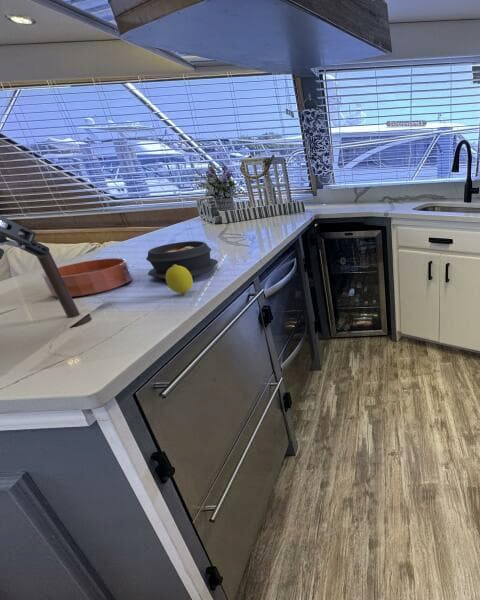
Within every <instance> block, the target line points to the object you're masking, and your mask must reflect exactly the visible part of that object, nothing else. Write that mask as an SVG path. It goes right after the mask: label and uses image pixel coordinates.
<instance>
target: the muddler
mask: <svg viewBox="0 0 480 600" xmlns="http://www.w3.org/2000/svg"><path fill="white" fill-rule="evenodd" d="M36 258H37V259H38V263H39V264H40V266H41V268H42V270H43V273H45V274H46V276H47V278H48V280H49V282H50V284H51V286H52V288H53V290H54V292H55V294H56V296H57V300H58V302H59V304H60V305H61V308H62V310H63V311H64V313H65V316H66V317H67V318H68V319H69V318H76V317H78V316H80V315H81V312H80V311H79V309H78V307H77V305H76V303H75V301H74V299H73V297H71V294H70V292H69V290H68V288H67V286H66V284H65V282H64V280H63V278H62V276H61V274H60V272H59V270H58V266H57V263H56V262H55V260H54V257H53V256H52V253H51V251H50V250H49V252H48V255H47V257H46V258H39V257H37V256H36ZM56 296H55V297H56ZM92 319H93V317H92V316H91V314H90V313H88V314H86V315H85V316H83V317H82V318H81V319H79V320H78V321H76V322H75V323H73V324H71V326H70V327H69V329H70V328H75V327H79V326H83V325H85V324H88V323H89V322H91V321H92Z"/></svg>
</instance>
